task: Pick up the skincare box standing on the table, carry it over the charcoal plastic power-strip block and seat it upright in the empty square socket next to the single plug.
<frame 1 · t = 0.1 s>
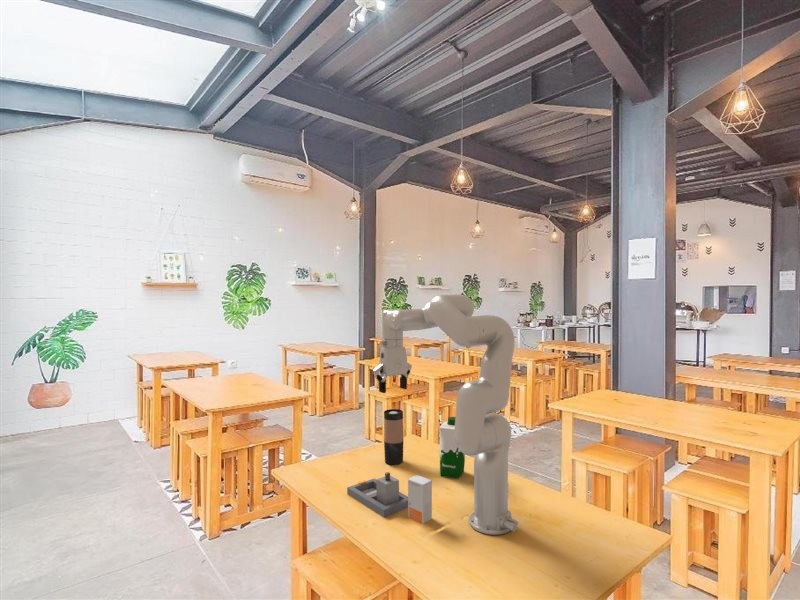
hand: (393, 390, 164), 31 cm above the table, fingers open, 9 cm apart
pdu strip: (378, 501, 144), on the table
single plug: (387, 505, 140), point 1 cm above the table, touching pdu strip
skincare box: (420, 520, 133), on the table
travel mug: (393, 462, 177), on the table
milk carton: (452, 474, 165), on the table
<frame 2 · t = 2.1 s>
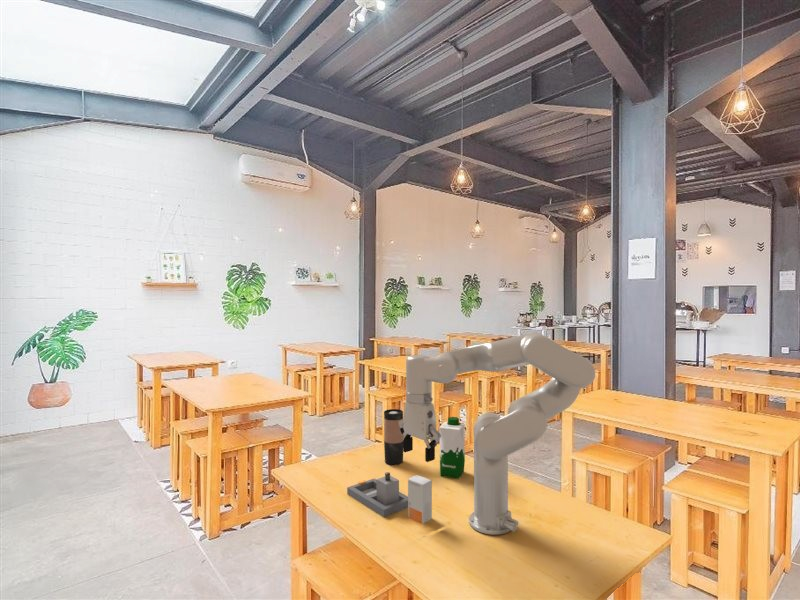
hand: (418, 455, 132), 19 cm above the table, fingers open, 9 cm apart
nothing on the table moved.
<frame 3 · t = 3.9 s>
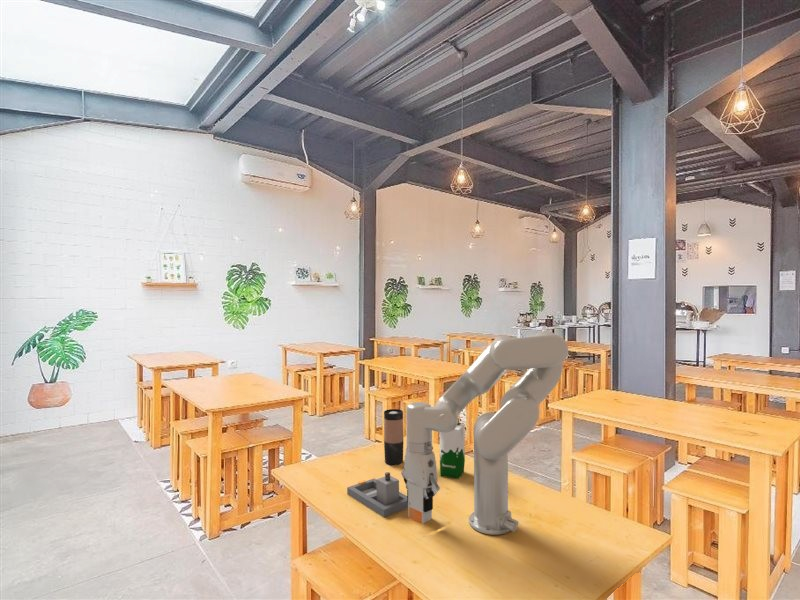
hand: (419, 505, 132), 4 cm above the table, fingers closed on skincare box, 6 cm apart
skincare box: (420, 520, 133), on the table, touching gripper
everything else where it was.
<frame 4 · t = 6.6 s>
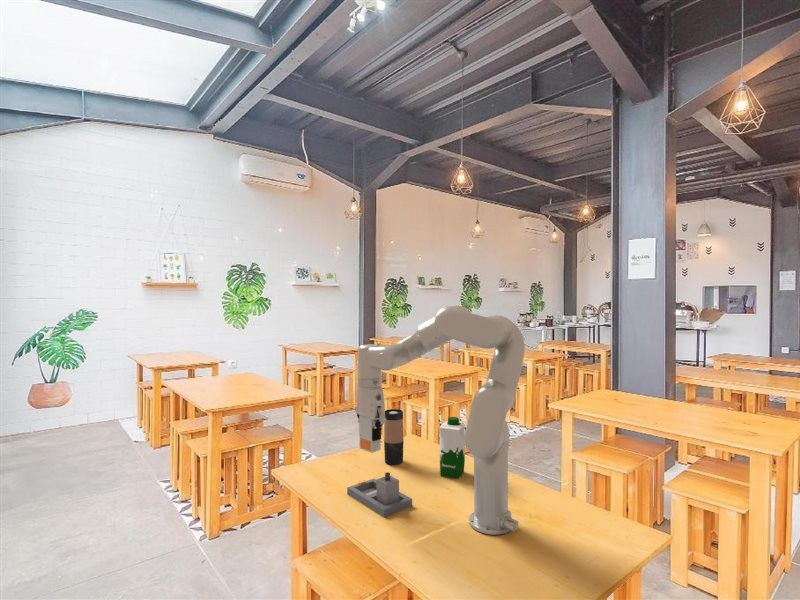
hand: (370, 436, 147), 20 cm above the table, fingers closed on skincare box, 6 cm apart
skincare box: (370, 450, 147), point 15 cm above the table, touching gripper
everything else where it was.
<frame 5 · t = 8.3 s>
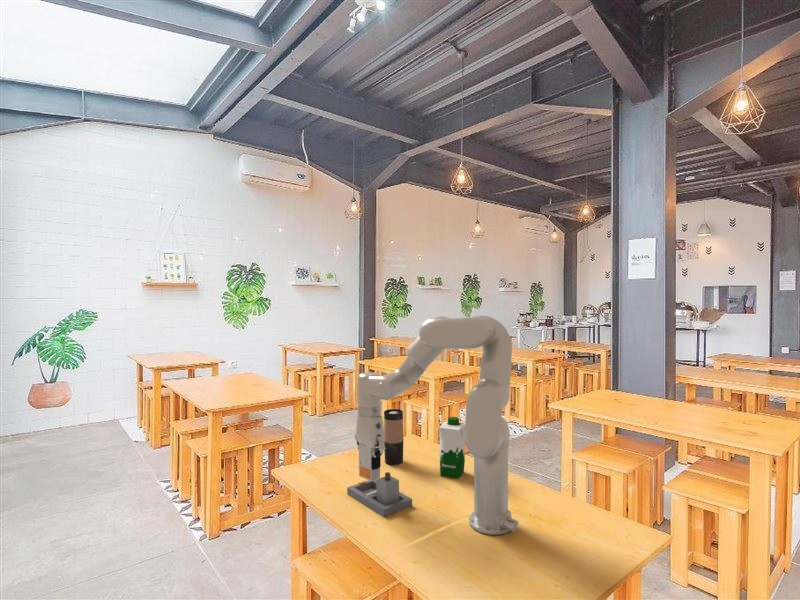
hand: (369, 464, 148), 10 cm above the table, fingers closed on skincare box, 6 cm apart
skincare box: (369, 477, 148), point 6 cm above the table, touching gripper
everything else where it was.
when the fingers open (6 cm above the table, at t = 9.7 s): skincare box drops 1 cm, resting on pdu strip.
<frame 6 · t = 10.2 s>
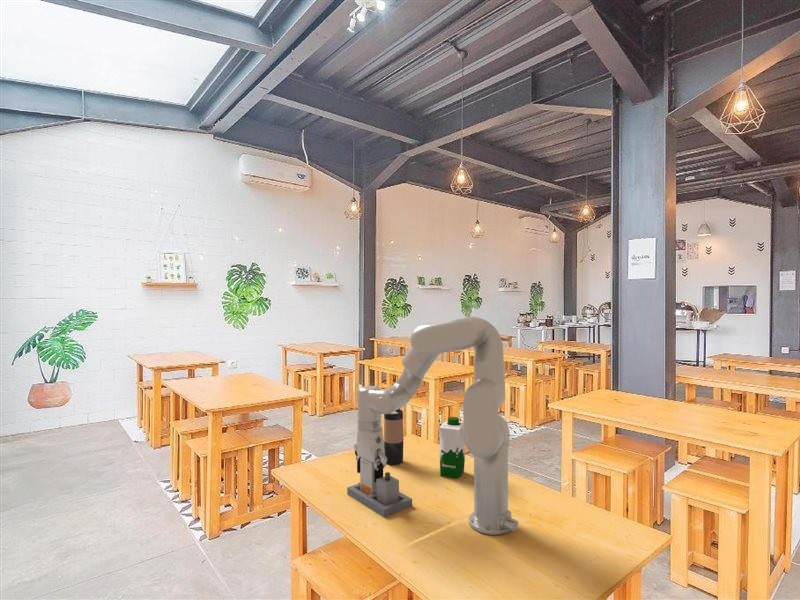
hand: (369, 476, 148), 7 cm above the table, fingers open, 9 cm apart
skincare box: (370, 495, 147), resting on pdu strip
everything else where it was.
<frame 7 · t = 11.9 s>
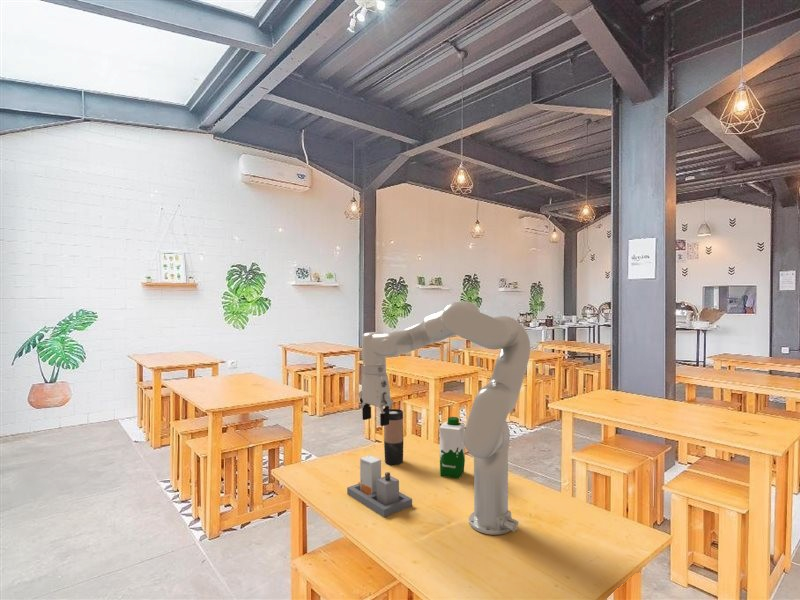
hand: (375, 422, 148), 24 cm above the table, fingers open, 9 cm apart
nothing on the table moved.
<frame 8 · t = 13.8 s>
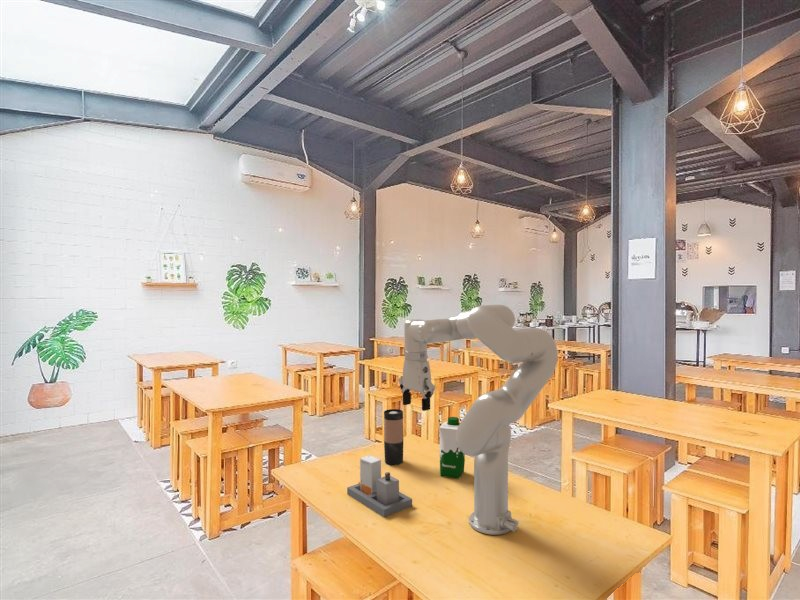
hand: (416, 407, 151), 28 cm above the table, fingers open, 9 cm apart
nothing on the table moved.
at the end: skincare box 0.5 cm from the target spot on the pdu strip, point 0.4 cm above the pdu strip's base; skincare box tilted 0°; single plug moved 0.0 cm from its start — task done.
